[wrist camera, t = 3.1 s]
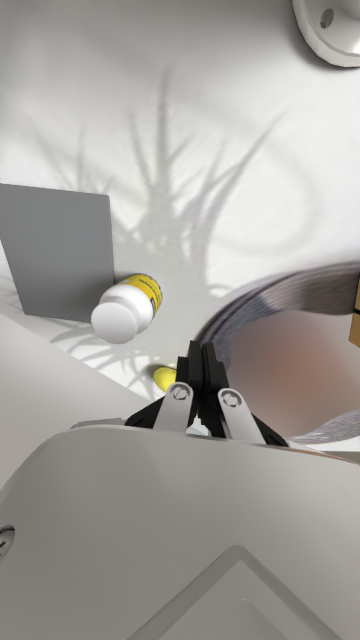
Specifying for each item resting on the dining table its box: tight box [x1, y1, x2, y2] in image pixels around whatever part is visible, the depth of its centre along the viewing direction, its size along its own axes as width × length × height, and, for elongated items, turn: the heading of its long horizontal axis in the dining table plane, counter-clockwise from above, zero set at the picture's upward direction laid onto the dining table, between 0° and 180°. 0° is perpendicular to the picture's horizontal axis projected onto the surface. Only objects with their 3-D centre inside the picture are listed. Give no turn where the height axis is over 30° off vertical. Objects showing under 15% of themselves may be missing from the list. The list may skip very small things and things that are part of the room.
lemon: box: [154, 367, 176, 392], centre depth 27 cm, size 4×8×4 cm, turn 62°
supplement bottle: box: [91, 274, 163, 344], centre depth 19 cm, size 5×5×10 cm
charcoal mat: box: [0, 183, 115, 323], centre depth 22 cm, size 14×16×1 cm
